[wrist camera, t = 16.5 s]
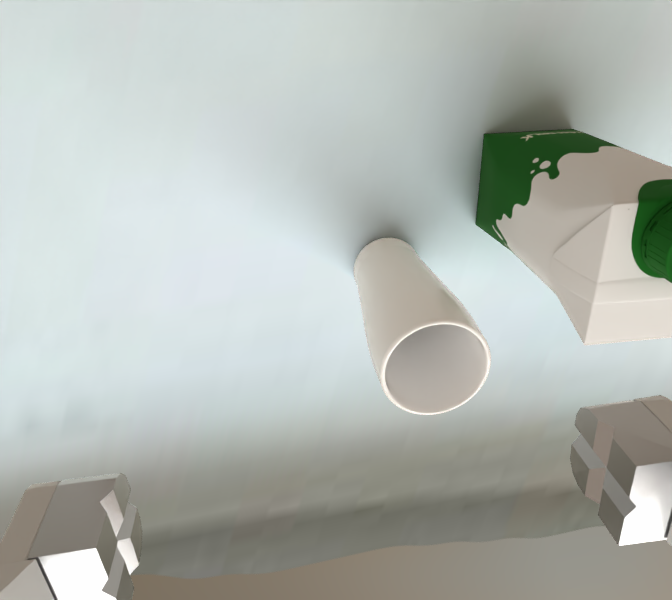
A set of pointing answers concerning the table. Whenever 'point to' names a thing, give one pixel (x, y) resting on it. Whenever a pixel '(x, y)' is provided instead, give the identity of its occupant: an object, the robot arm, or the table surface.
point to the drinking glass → (417, 331)
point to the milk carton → (585, 227)
